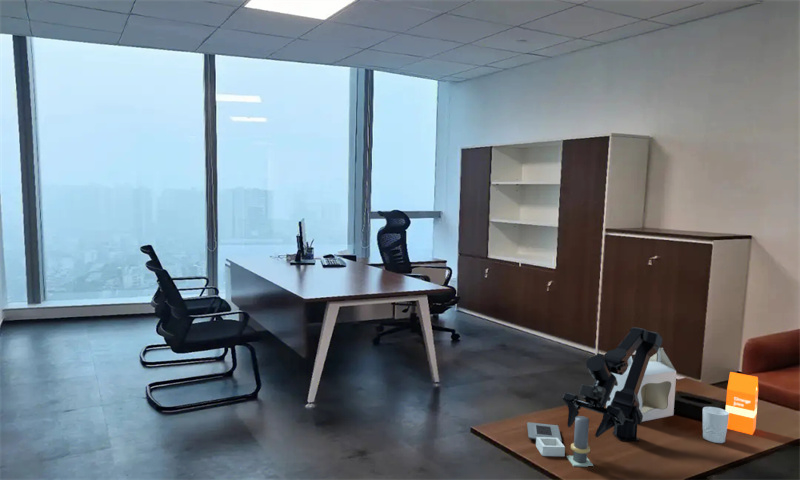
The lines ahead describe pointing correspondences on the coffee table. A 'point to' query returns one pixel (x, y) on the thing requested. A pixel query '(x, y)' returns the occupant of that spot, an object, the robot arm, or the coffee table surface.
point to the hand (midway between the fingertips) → (582, 431)
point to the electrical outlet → (543, 431)
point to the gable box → (653, 387)
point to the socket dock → (550, 446)
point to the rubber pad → (579, 463)
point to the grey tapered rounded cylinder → (580, 440)
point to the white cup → (715, 424)
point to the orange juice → (742, 402)
